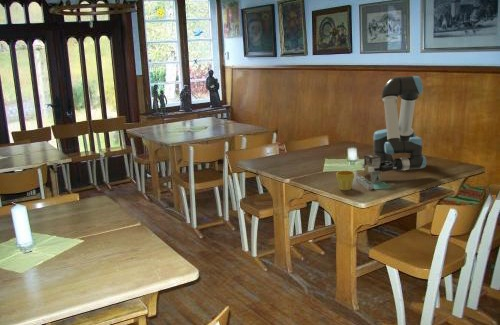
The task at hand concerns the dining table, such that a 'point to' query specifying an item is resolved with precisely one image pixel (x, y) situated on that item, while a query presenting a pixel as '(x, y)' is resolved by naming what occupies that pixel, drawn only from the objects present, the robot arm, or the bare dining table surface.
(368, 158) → the coffee box
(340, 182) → the plant pot
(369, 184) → the steel rail
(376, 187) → the pad
